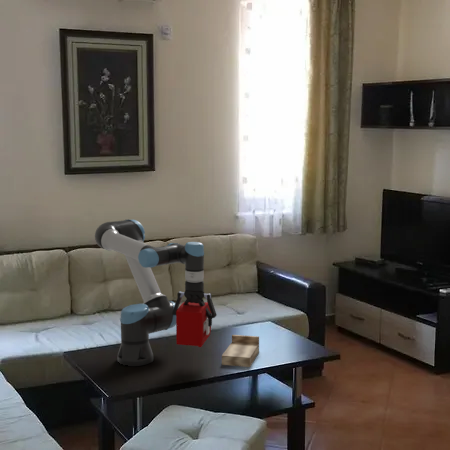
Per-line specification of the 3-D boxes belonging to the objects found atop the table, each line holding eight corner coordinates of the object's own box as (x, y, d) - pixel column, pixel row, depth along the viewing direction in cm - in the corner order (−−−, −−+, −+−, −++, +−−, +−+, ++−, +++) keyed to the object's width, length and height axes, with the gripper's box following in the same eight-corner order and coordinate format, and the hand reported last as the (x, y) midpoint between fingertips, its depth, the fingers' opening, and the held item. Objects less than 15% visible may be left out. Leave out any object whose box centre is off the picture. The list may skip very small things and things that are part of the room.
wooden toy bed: (221, 364, 287) (221, 348, 286) (232, 349, 306) (232, 334, 305) (250, 367, 284) (250, 350, 283) (259, 351, 303) (259, 336, 302)
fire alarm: (202, 347, 274) (202, 310, 272) (176, 345, 276) (176, 308, 274) (211, 334, 290) (211, 300, 288) (186, 333, 292) (186, 298, 290)
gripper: (164, 280, 278) (164, 332, 282) (220, 284, 273) (219, 337, 276) (169, 276, 286) (169, 327, 289) (224, 280, 280) (223, 332, 284)
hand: (194, 332), depth 283 cm, fingers closed on fire alarm, 11 cm apart
